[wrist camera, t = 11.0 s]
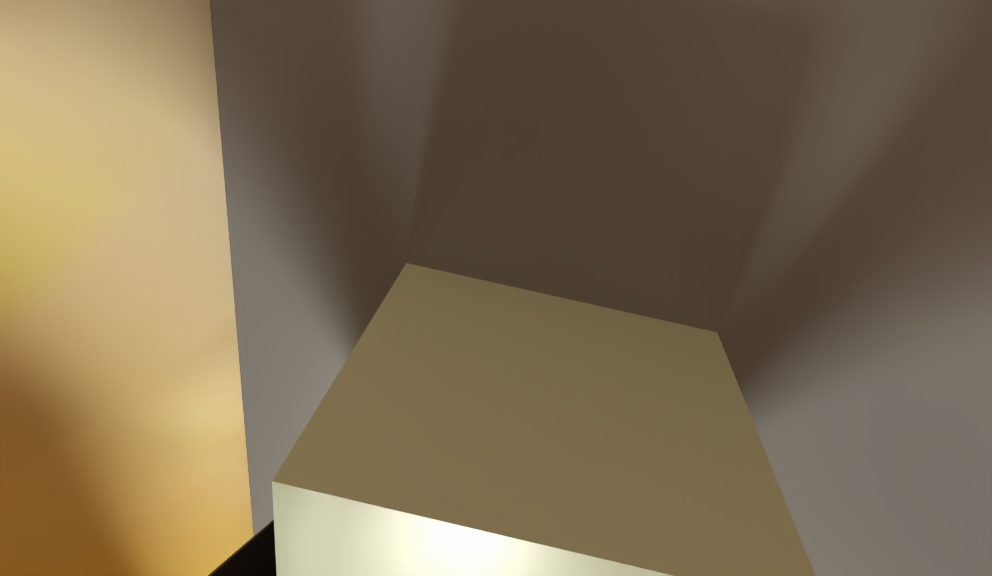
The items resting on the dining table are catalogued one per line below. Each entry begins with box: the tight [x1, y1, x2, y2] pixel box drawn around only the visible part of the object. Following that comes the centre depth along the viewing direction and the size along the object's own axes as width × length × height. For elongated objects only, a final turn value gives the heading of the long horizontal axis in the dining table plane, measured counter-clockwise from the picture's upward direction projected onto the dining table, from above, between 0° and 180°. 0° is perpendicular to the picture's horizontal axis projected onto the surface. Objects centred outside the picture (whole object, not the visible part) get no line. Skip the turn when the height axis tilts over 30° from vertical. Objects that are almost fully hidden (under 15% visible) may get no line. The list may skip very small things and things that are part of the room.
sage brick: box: [272, 263, 816, 576], centre depth 8 cm, size 7×5×4 cm, turn 170°
